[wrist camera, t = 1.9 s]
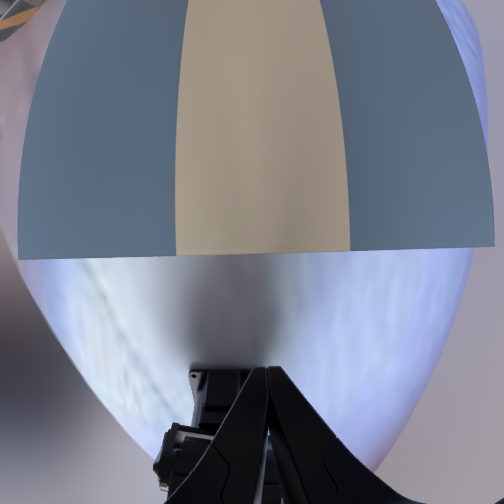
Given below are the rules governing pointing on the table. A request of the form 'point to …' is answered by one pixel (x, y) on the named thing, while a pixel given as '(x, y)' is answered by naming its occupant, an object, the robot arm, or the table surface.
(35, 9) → the cage light
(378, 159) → the lid
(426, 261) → the table surface
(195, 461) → the robot arm
